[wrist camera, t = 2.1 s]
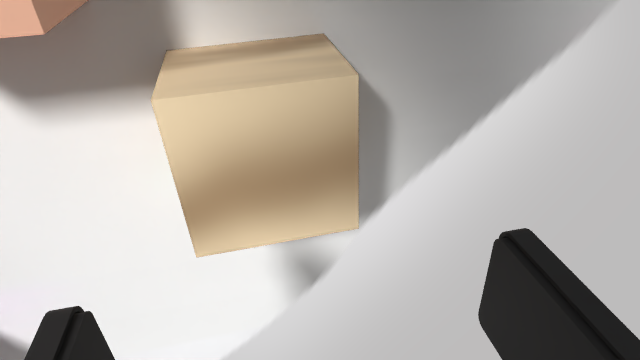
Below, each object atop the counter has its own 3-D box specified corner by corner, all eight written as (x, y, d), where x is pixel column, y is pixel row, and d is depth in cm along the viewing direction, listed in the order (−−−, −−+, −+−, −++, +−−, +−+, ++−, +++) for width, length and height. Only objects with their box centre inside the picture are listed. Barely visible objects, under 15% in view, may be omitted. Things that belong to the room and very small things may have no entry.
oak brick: (166, 49, 16) (150, 100, 12) (323, 32, 17) (358, 74, 13) (200, 182, 19) (196, 257, 15) (328, 162, 20) (358, 228, 16)
